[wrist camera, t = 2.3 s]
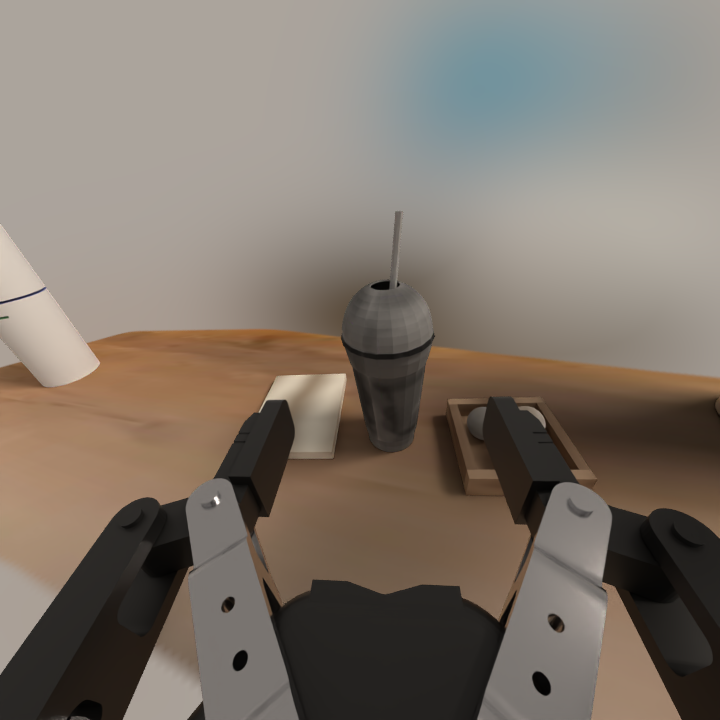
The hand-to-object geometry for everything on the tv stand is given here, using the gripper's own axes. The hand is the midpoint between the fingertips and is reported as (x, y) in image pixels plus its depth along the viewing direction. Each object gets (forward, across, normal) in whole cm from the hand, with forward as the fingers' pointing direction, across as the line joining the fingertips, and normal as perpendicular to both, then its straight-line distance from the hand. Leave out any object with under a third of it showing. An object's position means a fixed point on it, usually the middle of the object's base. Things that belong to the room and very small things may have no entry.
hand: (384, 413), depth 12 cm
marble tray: (+10, -11, +14) cm, 20 cm away
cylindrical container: (+25, +49, +15) cm, 57 cm away
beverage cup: (+12, 0, +14) cm, 18 cm away
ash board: (+15, +10, +14) cm, 23 cm away
